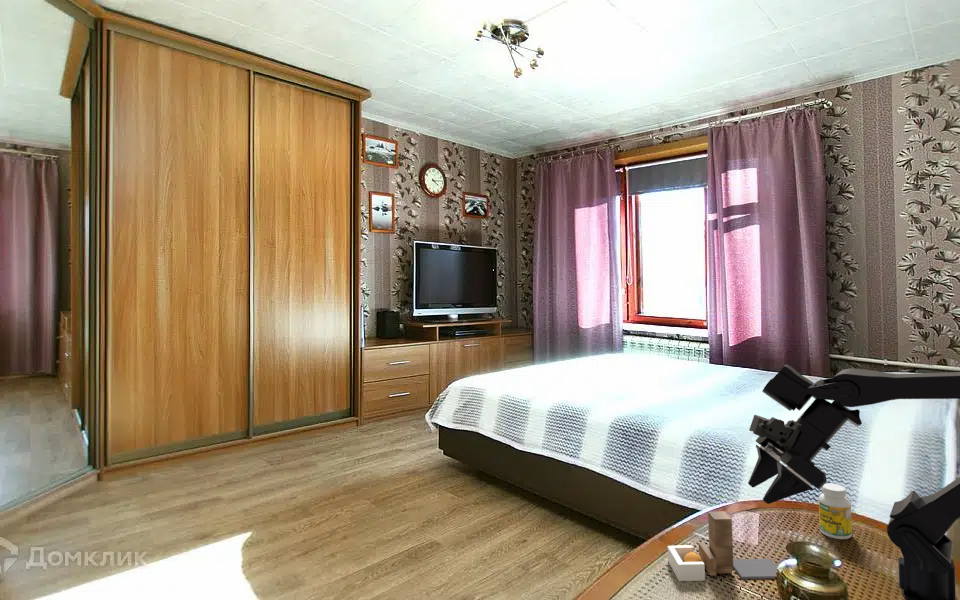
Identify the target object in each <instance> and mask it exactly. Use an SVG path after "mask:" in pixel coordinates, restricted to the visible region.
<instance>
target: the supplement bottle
mask: <svg viewBox="0 0 960 600" xmlns="http://www.w3.org/2000/svg"><path fill="white" fill-rule="evenodd" d="M821 491H822V493H821V494H819V496H818V513H819V514H818V517H819V518H818V519H819V530H820V532H821V533H822V534H823V535H824V536H827V537H829V538H832V539H837V540H848V539H850V538H851V537H852V533H853V532H852V531H853V529H852V526H853V525H852V507H851V506H852V505H851V501H850V499H849V498H848V497H846V496H847V489H846V487H844V486H843V485H840V484H837V483H831V482H830V483H829V482H828V483H827V482H826V483H825V484H824V485H823V486H822V488H821Z"/></svg>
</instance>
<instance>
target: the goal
mask: <svg viewBox="0 0 960 600" xmlns="http://www.w3.org/2000/svg"><path fill="white" fill-rule="evenodd" d="M690 552H694V546H693V545H692V544H691V545H690V544H689V545H688V544H687V545H682V544H681V545H667V562H668V564H669V566H670V567H671V569H672V570H673V571H672V572H673V573H674V574H675V576H676V578H677V580H678V582H697V581H698V582H704V581H706V571H705V569H706V568H705V565H704V563H703V562H684V557H685V555H686V554H687V553H690Z"/></svg>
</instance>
